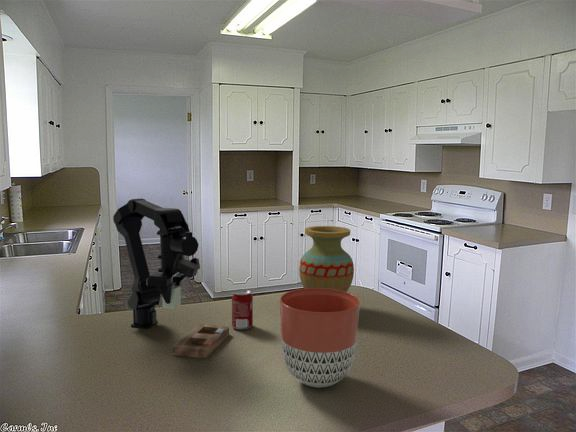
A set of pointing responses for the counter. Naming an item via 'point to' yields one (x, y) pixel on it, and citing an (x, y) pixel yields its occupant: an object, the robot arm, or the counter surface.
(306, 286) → the vase
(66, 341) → the counter surface
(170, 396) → the counter surface
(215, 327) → the socket block
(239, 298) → the soda can
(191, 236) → the robot arm
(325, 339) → the planter
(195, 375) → the counter surface
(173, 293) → the plug
